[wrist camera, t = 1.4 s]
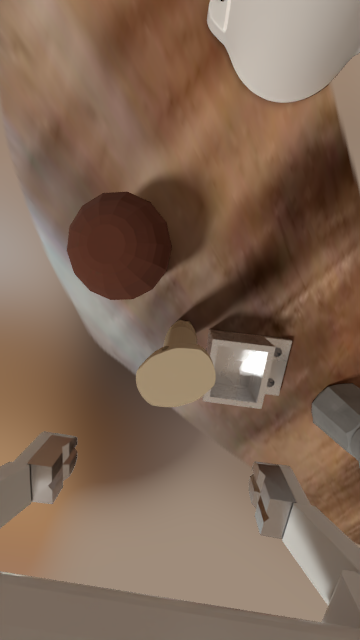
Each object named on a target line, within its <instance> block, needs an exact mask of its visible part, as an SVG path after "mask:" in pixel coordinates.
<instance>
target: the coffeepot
mask: <svg viewBox="0 0 360 640" xmlns="http://www.w3.org/2000/svg"><path fill="white" fill-rule="evenodd" d="M312 416H313V423H314V424H316V425H317V426H318V427H319V428H320V429H321V430H323V431H324V432H325V433H326V434H327V435H328V436H330V437H331V438H332V439H333V440H334V441H335V442H336V443H338V444H339V445H340V446H341V447H342V448H343V449H345V450H346V451H347V452H348V453H350V454H351V455H352V456H354V457H355V458H356V459H357V460H358V461H359V466H360V388H358V387H357V386H356V385H354V384H353V383H350V384H337V385H333V386H330V387H327V388H326V389H324V390H323V391H322V392H320V393H319V394H318V396H317V397H316V398H315V400H314V402H313V403H312Z"/></svg>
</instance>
